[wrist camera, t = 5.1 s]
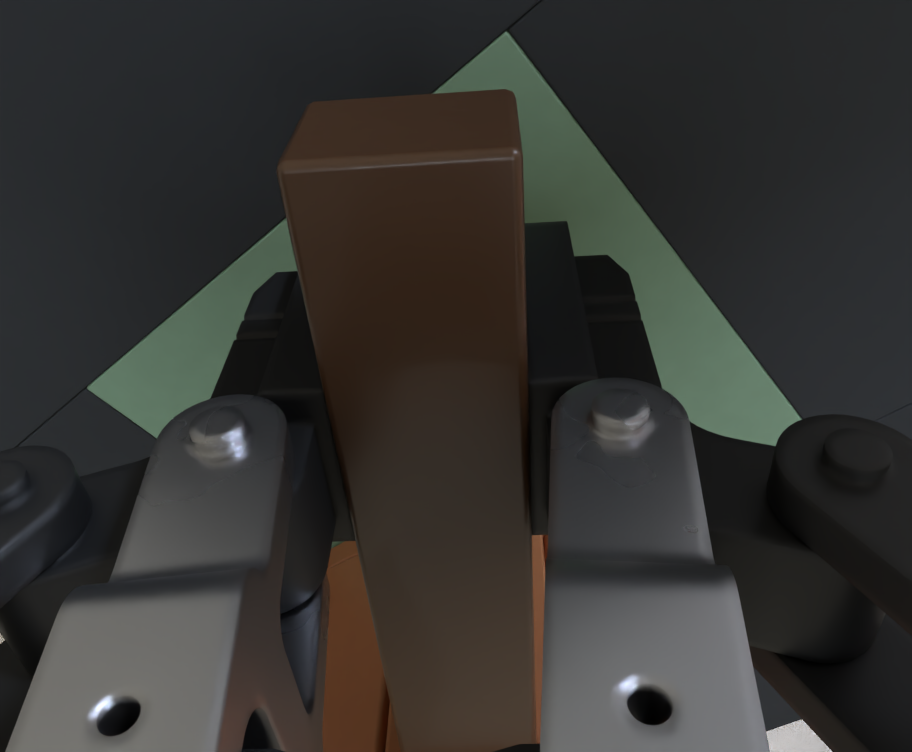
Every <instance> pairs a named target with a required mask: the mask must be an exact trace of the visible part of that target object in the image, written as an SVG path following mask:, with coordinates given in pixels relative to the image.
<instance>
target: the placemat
mask: <svg viewBox="0 0 912 752" xmlns="http://www.w3.org/2000/svg"><path fill="white" fill-rule="evenodd" d="M498 89H507V90H510V91H513V93H514V95H515V97H516V101H517V110H518V118H519V126H520V134H521V143H522V151H523V172H524V215H525V223H538V222H555V221H567V223H568V227H569V232H570V237H571V243H572V248H573V253H574V256H590V255H608V256H610V257H611V258H612V259H613V260H614V261H615V262H616V263H617V264H619V265H620V266H621V267H622V268H623V269H624V270H625V271H626V272H628V273H629V276H630V279H631V283H632V286H633V290H634V293H635V296H636V297H635V299H636V301H637V303H638V307H639V310H640V314H641V320H643V324H644V327H645V331H646V334H647V337H648V341H649V344H650V348H651V351H652V355H653V358H654V361H655V365H656V368H657V372H658V375H659V378H660V382H661V385H662V389H664V390H665V391H667V392H669V393H670V394H671V395H673V396H674V397H675V398H676V399H677V400H678V401H679V402H680V403H681V404H682V405H683V407H684V409H685V410H686V412H687V414H688V418H689V421H690V422H691V423H693V424H695V425H696V426H698V427H701V428H703V429H705V430H707V431H710V432H713V433H716V434H719V435H722V436H726V437H730V438H734V439H740V440H745V441H751V442H756V443H761V444H767V445H772V446H776V444H777V441H778V438H779V437H780V435H781V434H782V432H783V431H784V430H785V429H786V428H787V427H789V426H790V425H792V424H793V423H795V422H797V421H799V420H802V419H805V418H808V417H812V416H817V415H827V414H838V415H849V416H857V417H861V418H865V419H870V420H872V421H875V422H878V423H881V424H884V425H886V426H888V427H891V428H893V429H895V430H897V431H898V432H900V433H902V434H904V435H905V436H907V437H908V438H910V439H911V440H912V0H0V451H4V450H7V449H11V448H16V447H22V446H48V447H52V448H55V449H59V450H60V451H62V452H64V453H65V454H66V455H67V456H68V457H69V458H70V459H71V461H72V463H73V465H74V467H75V469H76V471H77V473H78V475H79V477H80V476H84V475H88V474H91V473H95V472H99V471H103V470H106V469H110V468H114V467H118V466H121V465H125V464H129V463H132V462H136V461H139V460H142V459H145V458H148V457H150V456H151V453H152V450H153V447H154V444H155V442H156V439H157V437H158V435H159V434H160V432H161V431H162V429H163V428H164V427H165V426H166V425H167V424H168V423H169V422H170V420H172V419H173V418H174V417H175V416H177V415H178V414H179V413H181V412H183V411H184V410H186V409H187V408H189V407H191V406H193V405H196V404H198V403H200V402H203V401H206V400H208V399H210V398H211V396H212V393H213V391H214V388H215V386H216V383H217V381H218V378H219V376H220V374H221V371H222V369H223V366H224V364H225V361H226V359H227V356H228V354H229V351H230V349H231V346H232V344H233V342H234V340H236V339H237V338H236V334H237V332H238V329H239V327H240V324H241V322H242V321H244V314H245V312H246V310H247V307H248V305H249V302H250V300H251V297H252V295H253V293H254V292H255V291H256V290H257V289H258V288H259V287H260V286H262V285H263V284H264V283H265V282H266V281H267V280H268V279H269V278H270V277H271V276H273V275H274V274H275V273H276V272H289V271H297V267H296V262H295V257H294V253H293V248H292V243H291V239H290V234H289V229H288V225H287V220H286V215H285V211H284V206H283V201H282V197H281V192H280V187H279V183H278V178H277V173H276V169H277V164H278V161H279V159H280V157H281V155H282V153H283V152H284V150H285V148H286V146H287V144H288V142H289V140H290V138H291V136H292V134H293V132H294V130H295V128H296V126H297V124H298V122H299V120H300V118H301V116H302V114H303V112H304V110H305V108H306V106H307V105H308V104H310V103H312V102H316V101H331V100H346V99H361V98H377V97H392V96H407V95H422V94H437V93H452V92H467V91H482V90H498ZM342 542H344V541H339V542H332V546H331V549H332V548H333V547H335V546H337V545H339V544H341V543H342ZM753 669H754V674H755V679H756V684H757V689H758V694H759V699H760V704H761V710H762V715H763V720H764V725H765V730H766V731H769V730H771V729H774V728H777V727H780V726H783V725H786V724H789V723H792V722H794V721H797V720H800V719H802V718H801V717H800V716H799V715H798V714H797V713H796V712H795V711H794V710H793V709H792V708H791V706H790V705H789V704H788V703H787V702H786V701H785V700H784V699H783V698H782V697H781V696H780V695H779V694H778V693H777V691H776V690H775V689H774V688H773V687H772V686H771V685H770V684H769V683H768V682H767V681H766V680H765V679H764V678H763V676H762V675H761V674H760V673H759V672H758V671H757V670H756V669H755V668H754V667H753Z"/></svg>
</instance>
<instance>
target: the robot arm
mask: <svg viewBox="0 0 912 752" xmlns="http://www.w3.org/2000/svg"><path fill="white" fill-rule="evenodd" d="M525 259H526V303H527V346H528V390H529V433H530V477H531V520H532V535H548V553H547V558H546V570H545V600H544V634H543V667H542V700H541V733H540V744H518V745H514V746H511V747H507V748H504V749H500V750H497V751H493V752H770V750H769V745H768V740H767V735H766V730H765V725H764V720H763V715H762V710H761V704H760V699H759V694H758V689H757V684H756V679H755V674H754V669H753V667H754V668H755V669H756V670H757V671H758V672H759V673H760V674H761V675H762V676H763V678H764V679H765V680H766V681H767V682H768V683H769V684H770V685H771V686H772V687H773V688H774V689H775V690H776V691H777V693H778V694H779V695H780V696H781V697H782V698H783V699H784V700H785V701H786V702H787V703H788V704H789V705H790V706H791V708H792V709H793V710H794V711H795V712H796V713H797V714H798V715H799V716H800V717H801V718H802V719H803V720H804V721H805V723H806V724H807V725H808V726H809V727H810V728H811V729H812V730H813V731H814V732H815V733H816V734H817V735H818V736H819V738H820V739H821V740H822V741H823V742H824V743H825V744H826V745H827V746H828V747H829V748H830V749H831V750H832V751H833V752H912V440H911V439H910V438H908V437H907V436H905V435H904V434H902V433H900V432H898V431H897V430H895V429H893V428H891V427H888V426H886V425H884V424H881V423H878V422H875V421H872V420H870V419H865V418H861V417H857V416H849V415H838V414H827V415H817V416H812V417H808V418H805V419H802V420H799V421H797V422H795V423H793V424H792V425H790V426H789V427H787V428H786V429H785V430H784V431H783V432H782V434H781V435H780V437H779V438H778V441H777V444H776V446H772V445H767V444H761V443H756V442H751V441H745V440H740V439H734V438H730V437H726V436H722V435H719V434H716V433H713V432H710V431H707V430H705V429H703V428H701V427H698V426H696V425H695V424H693V423H691V422H690V421H689V418H688V414H687V412H686V410H685V409H684V407H683V405H682V404H681V403H680V402H679V401H678V400H677V399H676V398H675V397H674V396H673V395H671V394H670V393H669V392H667V391H665V390H664V389H662V385H661V382H660V378H659V375H658V372H657V368H656V365H655V361H654V358H653V355H652V351H651V348H650V344H649V341H648V337H647V334H646V331H645V327H644V324H643V320H641V314H640V310H639V307H638V303H637V301H636V299H635V297H636V296H635V293H634V290H633V286H632V283H631V279H630V276H629V273H628V272H626V271H625V270H624V269H623V268H622V267H621V266H620V265H619V264H617V263H616V262H615V261H614V260H613V259H612V258H611V257H610V256H608V255H590V256H574V253H573V248H572V243H571V237H570V232H569V227H568V223H567V221H555V222H538V223H525ZM236 338H237V339H236V340H234V342H233V344H232V346H231V349H230V351H229V354H228V356H227V359H226V361H225V364H224V366H223V369H222V371H221V374H220V376H219V378H218V381H217V383H216V386H215V388H214V391H213V393H212V396H211V398H210V399H208V400H206V401H203V402H200V403H198V404H196V405H193V406H191V407H189V408H187V409H186V410H184V411H183V412H181V413H179V414H178V415H177V416H175V417H174V418H173V419H172V420H170V422H169V423H168V424H167V425H166V426H165V427H164V428H163V429H162V431H161V432H160V434H159V435H158V437H157V439H156V442H155V444H154V447H153V450H152V453H151V456H150V457H148V458H145V459H142V460H139V461H136V462H132V463H129V464H125V465H121V466H118V467H114V468H110V469H106V470H103V471H99V472H95V473H91V474H88V475H84V476H80V477H79V475H78V473H77V471H76V469H75V467H74V465H73V463H72V461H71V459H70V458H69V457H68V456H67V455H66V454H65V453H64V452H62V451H60V450H59V449H55V448H52V447H48V446H22V447H16V448H11V449H7V450H4V451H0V633H1V635H2V636H3V638H4V639H5V641H4V642H3V643H1V644H0V752H323V738H322V727H323V709H324V692H325V675H326V658H327V642H328V625H329V608H330V584H329V580H328V577H327V573H326V572H327V568H328V563H329V557H330V552H331V546H332V542H339V541H355V536H354V532H353V527H352V523H351V518H350V513H349V509H348V504H347V499H346V495H345V490H344V485H343V481H342V476H341V471H340V467H339V462H338V457H337V453H336V448H335V443H334V439H333V434H332V429H331V425H330V420H329V415H328V411H327V406H326V402H325V397H324V392H323V388H322V383H321V378H320V374H319V369H318V364H317V360H316V355H315V350H314V346H313V341H312V336H311V332H310V327H309V322H308V318H307V313H306V308H305V304H304V299H303V294H302V290H301V285H300V280H299V276H298V271H289V272H276V273H275V274H274V275H273V276H271V277H270V278H269V279H268V280H267V281H266V282H265V283H264V284H263V285H262V286H260V287H259V288H258V289H257V290H256V291H255V292H254V293H253V295H252V297H251V300H250V302H249V305H248V307H247V310H246V312H245V314H244V321H242V322H241V324H240V327H239V329H238V332H237V334H236Z"/></svg>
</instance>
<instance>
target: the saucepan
mask: <svg viewBox="0 0 912 752" xmlns="http://www.w3.org/2000/svg"><path fill="white" fill-rule="evenodd" d="M276 173H277V178H278V183H279V187H280V192H281V197H282V201H283V206H284V211H285V215H286V220H287V225H288V229H289V234H290V239H291V243H292V248H293V253H294V257H295V262H296V267H297V271H298V276H299V280H300V285H301V290H302V294H303V299H304V304H305V308H306V313H307V318H308V322H309V327H310V332H311V336H312V341H313V346H314V350H315V355H316V360H317V364H318V369H319V374H320V378H321V383H322V388H323V392H324V397H325V402H326V406H327V411H328V415H329V420H330V425H331V429H332V434H333V439H334V443H335V448H336V453H337V457H338V462H339V467H340V471H341V476H342V481H343V485H344V490H345V495H346V499H347V504H348V509H349V513H350V518H351V523H352V527H353V532H354V536H355V541H344V542H342V543H341V544H339V545H337V546H335V547H333V548H332V549H331V552H330V557H329V563H328V568H327V572H326V573H327V577H328V580H329V584H330V608H329V625H328V642H327V658H326V675H325V692H324V709H323V727H322V738H323V752H493V751H497V750H500V749H504V748H507V747H511V746H514V745H518V744H540V733H541V700H542V667H543V634H544V600H545V570H546V558H547V553H548V535H532V520H531V477H530V433H529V390H528V346H527V303H526V259H525V215H524V172H523V151H522V143H521V134H520V126H519V118H518V110H517V101H516V97H515V95H514V93H513V91H510V90H507V89H498V90H482V91H467V92H452V93H437V94H422V95H407V96H392V97H377V98H361V99H346V100H331V101H316V102H312V103H310V104H308V105H307V106H306V108H305V110H304V112H303V114H302V116H301V118H300V120H299V122H298V124H297V126H296V128H295V130H294V132H293V134H292V136H291V138H290V140H289V142H288V144H287V146H286V148H285V150H284V152H283V153H282V155H281V157H280V159H279V161H278V164H277V169H276Z"/></svg>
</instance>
